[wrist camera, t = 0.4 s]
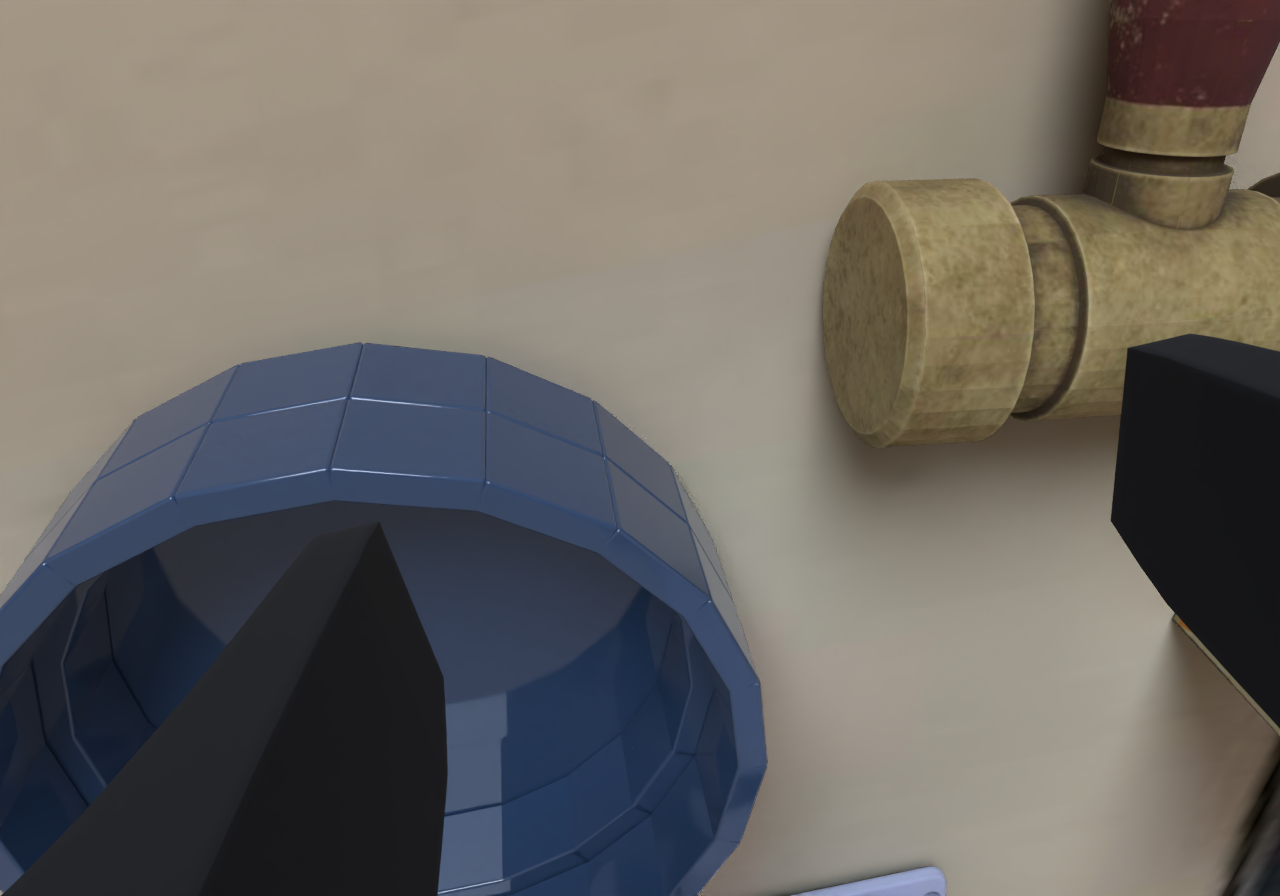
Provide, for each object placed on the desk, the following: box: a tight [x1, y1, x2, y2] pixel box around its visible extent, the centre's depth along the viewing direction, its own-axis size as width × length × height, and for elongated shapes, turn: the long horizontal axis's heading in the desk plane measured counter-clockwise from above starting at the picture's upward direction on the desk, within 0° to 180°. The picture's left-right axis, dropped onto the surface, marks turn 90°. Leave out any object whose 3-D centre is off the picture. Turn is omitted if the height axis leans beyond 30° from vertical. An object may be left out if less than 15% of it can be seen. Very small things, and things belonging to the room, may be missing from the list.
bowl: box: [0, 343, 768, 896], centre depth 19 cm, size 14×14×5 cm
